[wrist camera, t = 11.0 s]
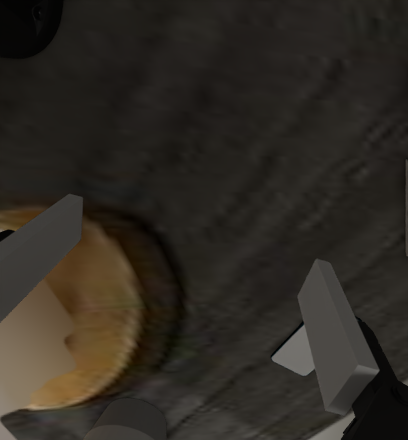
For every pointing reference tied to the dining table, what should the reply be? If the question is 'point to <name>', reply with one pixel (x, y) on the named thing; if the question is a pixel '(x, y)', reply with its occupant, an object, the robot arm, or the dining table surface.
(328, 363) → the robot arm
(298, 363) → the smartphone
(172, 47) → the dining table surface
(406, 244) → the grey base with ring
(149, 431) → the bowl
